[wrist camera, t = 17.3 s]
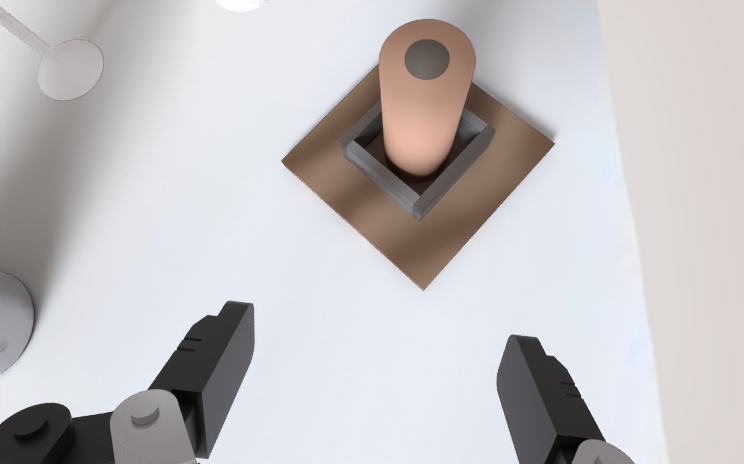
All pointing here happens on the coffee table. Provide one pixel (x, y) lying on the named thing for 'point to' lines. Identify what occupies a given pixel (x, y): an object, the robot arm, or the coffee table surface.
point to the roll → (423, 95)
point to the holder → (416, 200)
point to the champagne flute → (60, 62)
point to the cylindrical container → (241, 4)
